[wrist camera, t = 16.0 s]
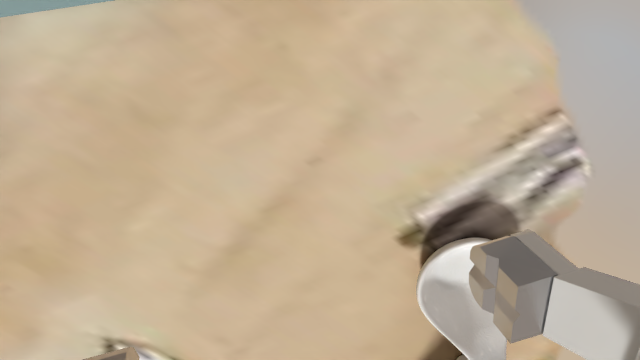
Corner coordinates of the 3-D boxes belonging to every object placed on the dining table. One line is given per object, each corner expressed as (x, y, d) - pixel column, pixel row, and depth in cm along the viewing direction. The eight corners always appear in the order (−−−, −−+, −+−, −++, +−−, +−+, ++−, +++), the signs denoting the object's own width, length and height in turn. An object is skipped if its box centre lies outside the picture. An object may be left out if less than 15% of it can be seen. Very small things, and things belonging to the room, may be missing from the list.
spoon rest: (395, 247, 49) (421, 290, 43) (491, 208, 49) (530, 245, 43) (433, 369, 61) (457, 416, 55) (510, 337, 61) (543, 381, 55)
